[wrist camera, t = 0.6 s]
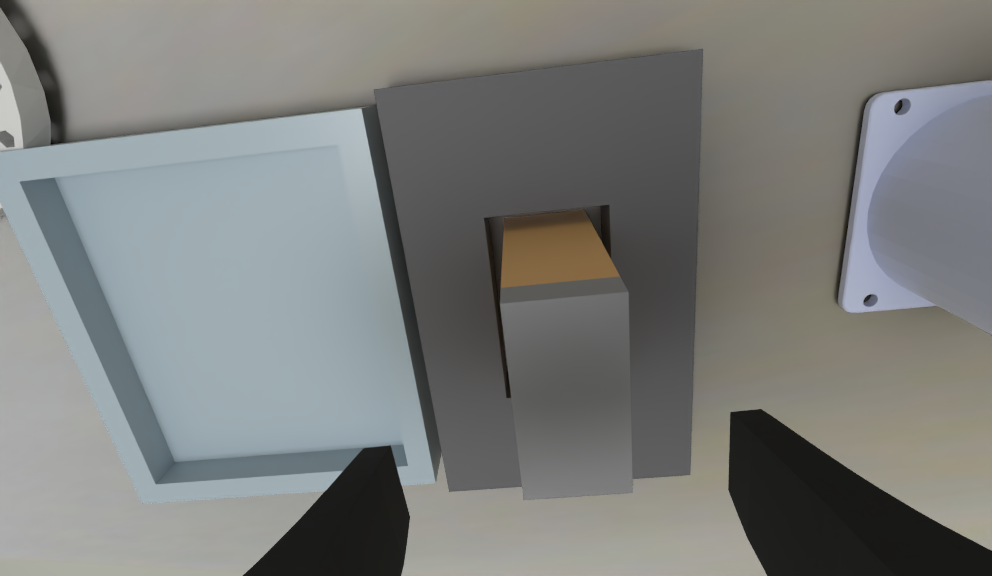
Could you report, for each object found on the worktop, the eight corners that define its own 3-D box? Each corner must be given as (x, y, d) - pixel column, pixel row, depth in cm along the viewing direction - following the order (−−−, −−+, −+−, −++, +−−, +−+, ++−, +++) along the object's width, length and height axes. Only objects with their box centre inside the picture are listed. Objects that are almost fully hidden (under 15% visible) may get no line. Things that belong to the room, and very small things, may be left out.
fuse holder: (682, 51, 17) (702, 49, 16) (676, 443, 23) (690, 475, 22) (387, 87, 18) (373, 89, 16) (453, 459, 24) (449, 491, 22)
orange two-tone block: (584, 209, 20) (628, 291, 12) (591, 350, 22) (632, 492, 14) (504, 217, 20) (499, 303, 12) (519, 356, 22) (524, 500, 15)
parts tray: (376, 104, 18) (361, 108, 17) (441, 451, 24) (435, 483, 22) (29, 146, 19) (-23, 154, 17) (169, 471, 25) (142, 503, 23)
